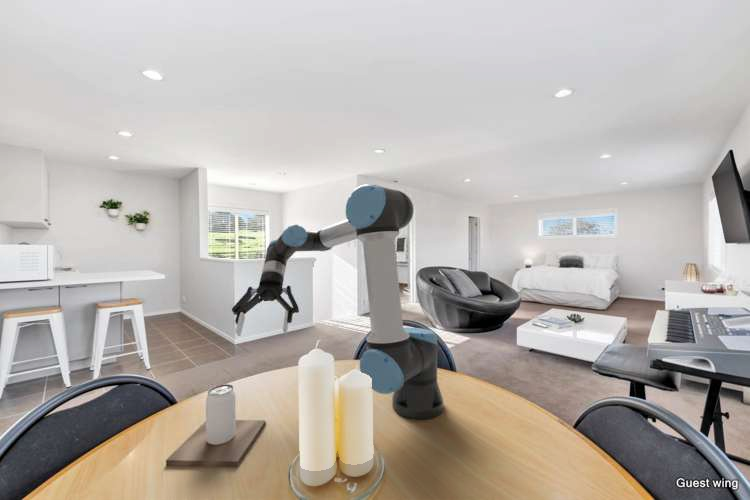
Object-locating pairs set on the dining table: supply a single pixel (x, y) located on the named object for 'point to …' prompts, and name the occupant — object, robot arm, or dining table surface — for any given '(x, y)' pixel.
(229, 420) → the can
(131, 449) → the dining table surface
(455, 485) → the dining table surface
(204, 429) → the walnut board
